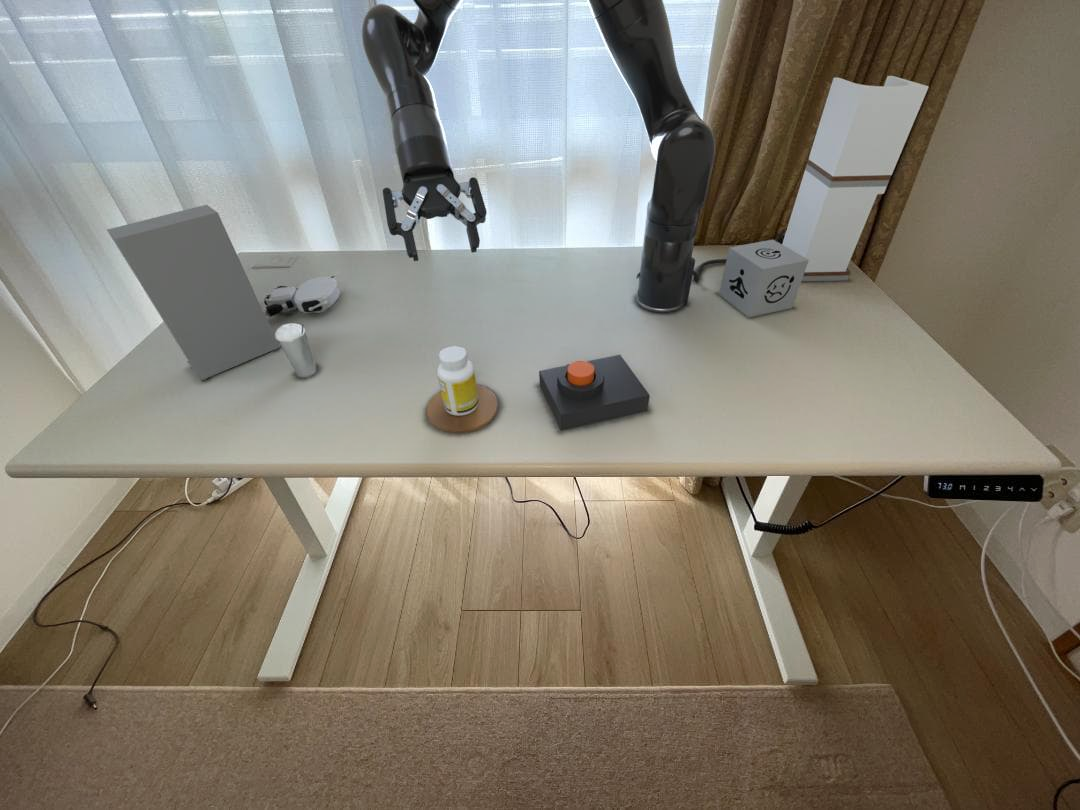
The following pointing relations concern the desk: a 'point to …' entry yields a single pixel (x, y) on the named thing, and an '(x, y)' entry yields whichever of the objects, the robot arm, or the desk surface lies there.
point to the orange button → (580, 373)
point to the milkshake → (296, 348)
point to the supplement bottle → (457, 381)
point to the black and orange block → (594, 393)
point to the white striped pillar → (849, 170)
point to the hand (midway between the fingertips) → (445, 254)
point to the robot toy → (303, 297)
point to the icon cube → (762, 277)
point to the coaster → (464, 422)
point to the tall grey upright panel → (197, 287)
